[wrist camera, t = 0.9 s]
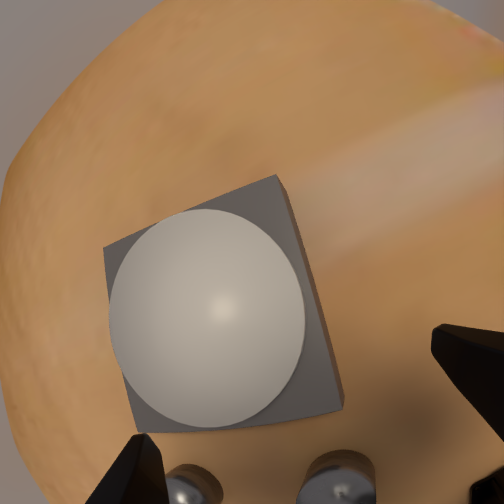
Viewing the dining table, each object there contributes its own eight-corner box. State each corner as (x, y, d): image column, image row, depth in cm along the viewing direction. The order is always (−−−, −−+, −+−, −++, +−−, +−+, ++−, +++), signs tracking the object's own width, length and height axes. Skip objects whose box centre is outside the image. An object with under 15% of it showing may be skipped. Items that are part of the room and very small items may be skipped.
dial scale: (344, 396, 18) (341, 414, 14) (153, 423, 22) (123, 435, 18) (286, 191, 22) (272, 167, 19) (120, 256, 26) (89, 248, 22)
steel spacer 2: (378, 494, 15) (379, 523, 12) (313, 506, 17) (303, 535, 13) (369, 442, 17) (370, 467, 13) (300, 456, 18) (288, 482, 14)
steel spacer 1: (230, 509, 18) (210, 534, 15) (181, 506, 20) (157, 525, 16) (214, 463, 20) (189, 484, 16) (164, 462, 21) (137, 479, 17)
